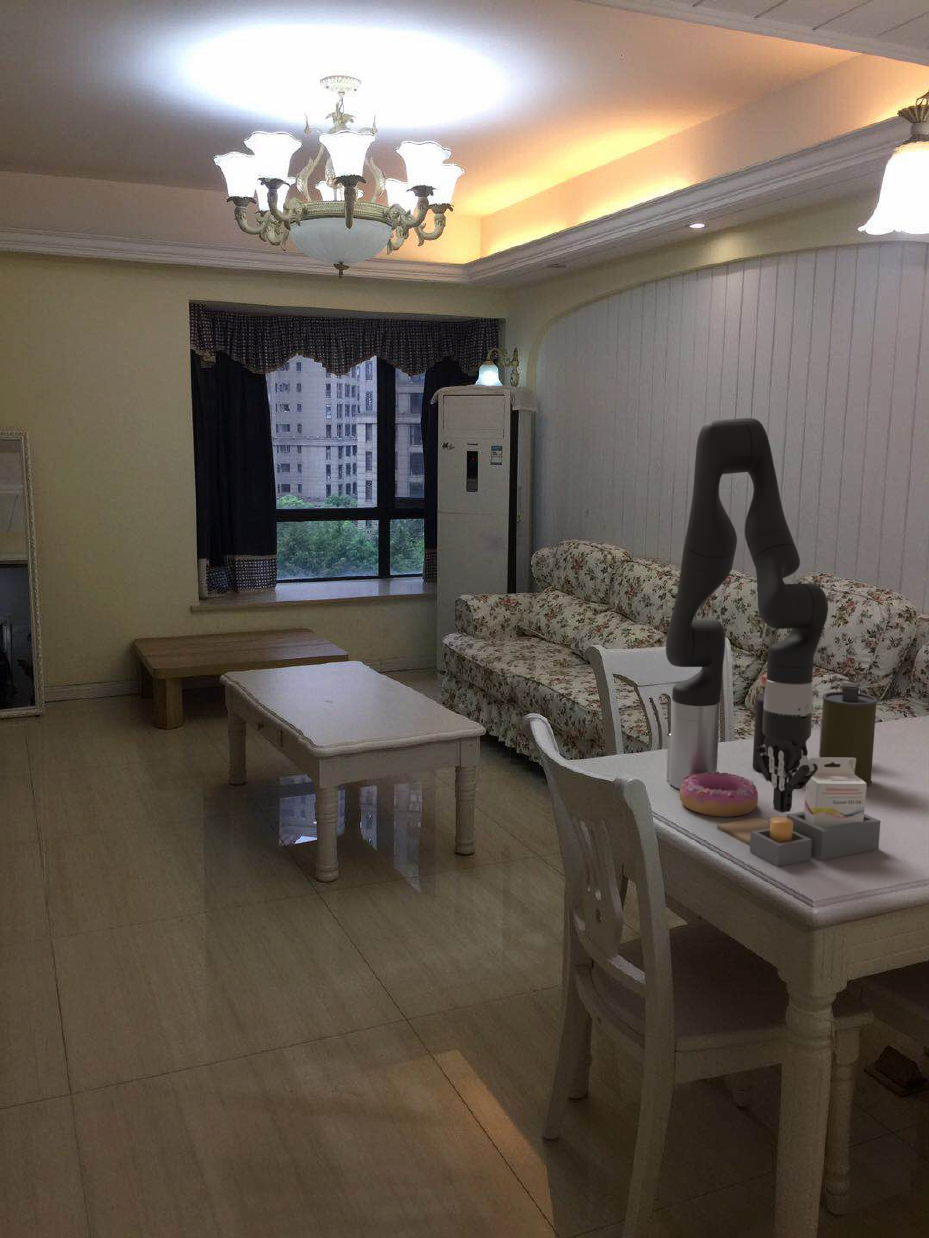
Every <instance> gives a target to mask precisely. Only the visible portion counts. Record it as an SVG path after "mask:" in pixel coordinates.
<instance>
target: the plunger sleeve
mask: <svg viewBox="0 0 929 1238" xmlns="http://www.w3.org/2000/svg"><path fill="white" fill-rule="evenodd" d="M769 836H770V828H768V829H763V830H757V831H752V832H751V837H750V845H749V852H750V853H751V854H753V855H755V856H757V857H759V858H761V859H762V860H765V861H766V862H768V863H770V864H772V865H774V866H775V867H777V868H778V867H782V866H787V865H793V864H797V863H802V862H808V861H811V859H812V858H811V857H812V856H811V845H812V839H809V838H807V837H805V836H803V835H801V834H799V833H797V832H795V831H793V836H792V841H789V842H784V843H777V842H775V841H774V840H772V839H770V838H769Z"/></svg>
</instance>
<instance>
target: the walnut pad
mask: <svg viewBox="0 0 929 1238" xmlns="http://www.w3.org/2000/svg"><path fill="white" fill-rule="evenodd" d="M768 828H770V822H767V821H765V820H764V819H761V818H760V817H754V818H748V819H742V820H737V821H736V820H735V821H731V822H730V821H729V822H727V823H721V824H720V823H719V824H717V825H716V829H718V830H720V831H722V832H724V833H726V834H728V835H729V836H732V837H734V838H735V839H736V840H739V841H740V842H743V843H745V844H747V845H748V846H750V837H751V832H752V831H757V830H763V829H768Z"/></svg>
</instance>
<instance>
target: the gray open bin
mask: <svg viewBox="0 0 929 1238" xmlns="http://www.w3.org/2000/svg"><path fill="white" fill-rule="evenodd" d="M785 818H788V819H790V820H792V821H793V831H795V832H797V833H799V834H801V835H803V836H805V837H807V838H809V839H812V845H811V857H812V858H814V859H817V860H819V861H820V862H822V861H825V860H830V859H831V860H832V859H835V858H840V857H847V856H850V855H855V854H856V855H857V854H860V853H866V852H871V851H875V850H879V847H880V845H879V844H880V834H881V831H880V830H881V820H879V819H877V818H875V817H873V816H871V815H868V814H866V813H864V819H863V822H855V823H850V824H844V825H839V826H834V827H828V828H821V827H819V826H816V825H814V824H812V823H810V822H808V821H806V820H804V811H800V812H794V813H788V814H786V817H785Z"/></svg>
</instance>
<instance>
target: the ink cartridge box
mask: <svg viewBox="0 0 929 1238" xmlns="http://www.w3.org/2000/svg"><path fill="white" fill-rule="evenodd" d="M809 761H810V762H811V764H816V765H817V766H818V770H817V771H816V772H815V774H814V775H813V776H812V777H811V779H810V780H809V781H808V782H807V783H806V785H805V794H804V806H803V807H804V809H803V812H804V820H806V821H808V822H810V823H812V824H814V825H816V826H819V827H821V828H828V827H834V826H839V825H844V824H850V823H855V822H863V819H864V814H865V809H866V807H865V806H866V805H865V804H866V797H867V788H866V785H867V783H865V782H864V781H863V780H862V779H860V778H859V777H857V776H856V775H855V774H854V773H855V765H856V758H831V757H829V758H827V757H824V758H820V757H810V759H809ZM832 762H834V763H835V764H840V765H841V766H840V767H824V765H825V764H830V763H832Z"/></svg>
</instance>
